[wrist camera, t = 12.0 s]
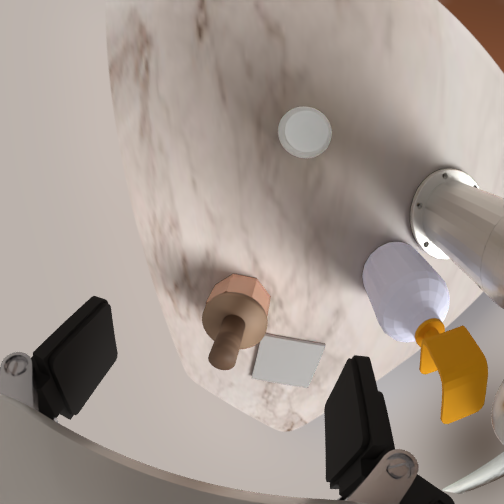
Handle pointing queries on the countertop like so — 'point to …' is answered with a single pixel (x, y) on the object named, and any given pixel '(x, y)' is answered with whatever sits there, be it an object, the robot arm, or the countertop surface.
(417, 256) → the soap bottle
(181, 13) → the countertop surface
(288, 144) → the supplement bottle
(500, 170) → the countertop surface
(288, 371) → the mat
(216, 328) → the lid
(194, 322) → the countertop surface
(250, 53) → the countertop surface
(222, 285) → the octagonal peach pot
